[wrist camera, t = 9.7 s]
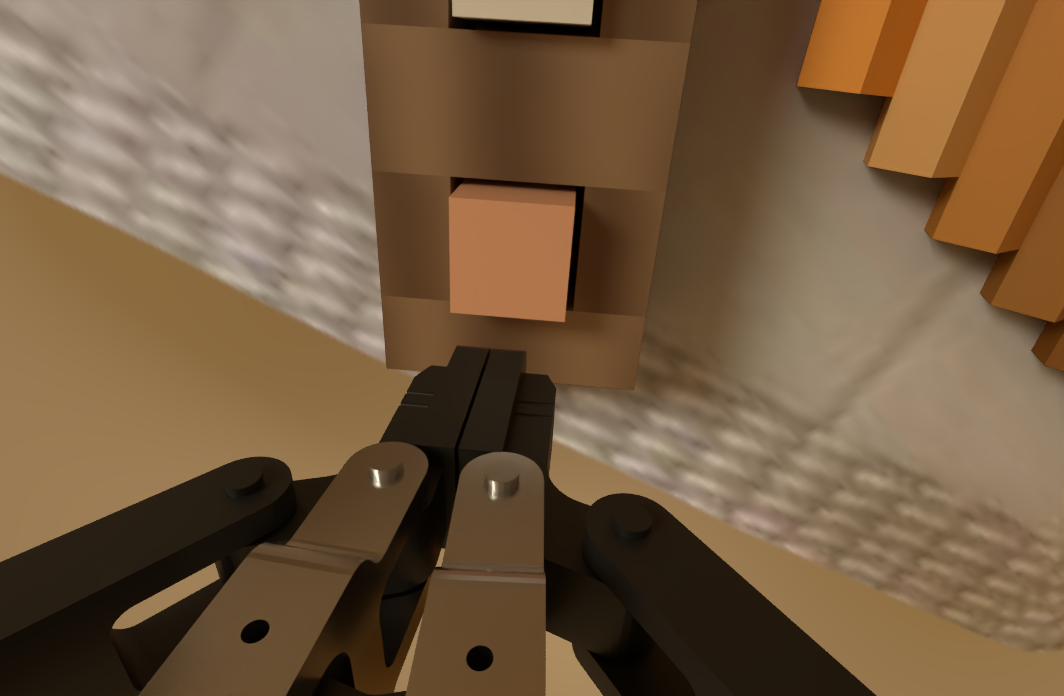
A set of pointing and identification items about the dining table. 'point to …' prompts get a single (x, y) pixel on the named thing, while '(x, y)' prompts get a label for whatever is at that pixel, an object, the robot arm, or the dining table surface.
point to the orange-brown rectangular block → (510, 248)
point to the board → (524, 168)
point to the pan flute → (967, 127)
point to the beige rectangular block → (527, 12)
